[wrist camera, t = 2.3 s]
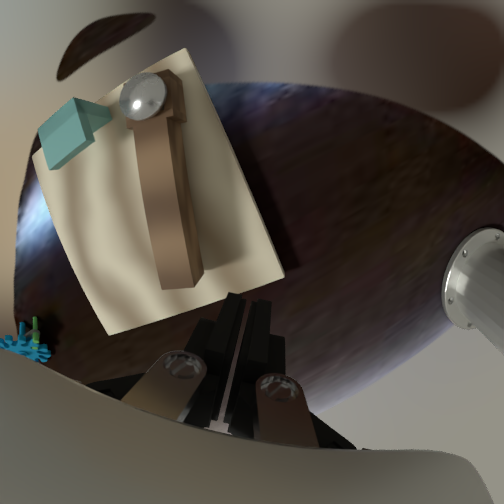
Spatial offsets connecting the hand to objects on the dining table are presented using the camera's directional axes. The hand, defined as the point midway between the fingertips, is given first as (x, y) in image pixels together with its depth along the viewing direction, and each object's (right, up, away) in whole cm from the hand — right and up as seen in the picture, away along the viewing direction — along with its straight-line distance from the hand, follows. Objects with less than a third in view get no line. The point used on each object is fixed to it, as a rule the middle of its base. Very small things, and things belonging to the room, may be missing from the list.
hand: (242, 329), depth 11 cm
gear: (-34, -11, +24) cm, 43 cm away
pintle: (-8, +16, +12) cm, 22 cm away
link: (-7, +10, +14) cm, 18 cm away
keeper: (-15, +15, +13) cm, 25 cm away
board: (-11, +8, +17) cm, 22 cm away
